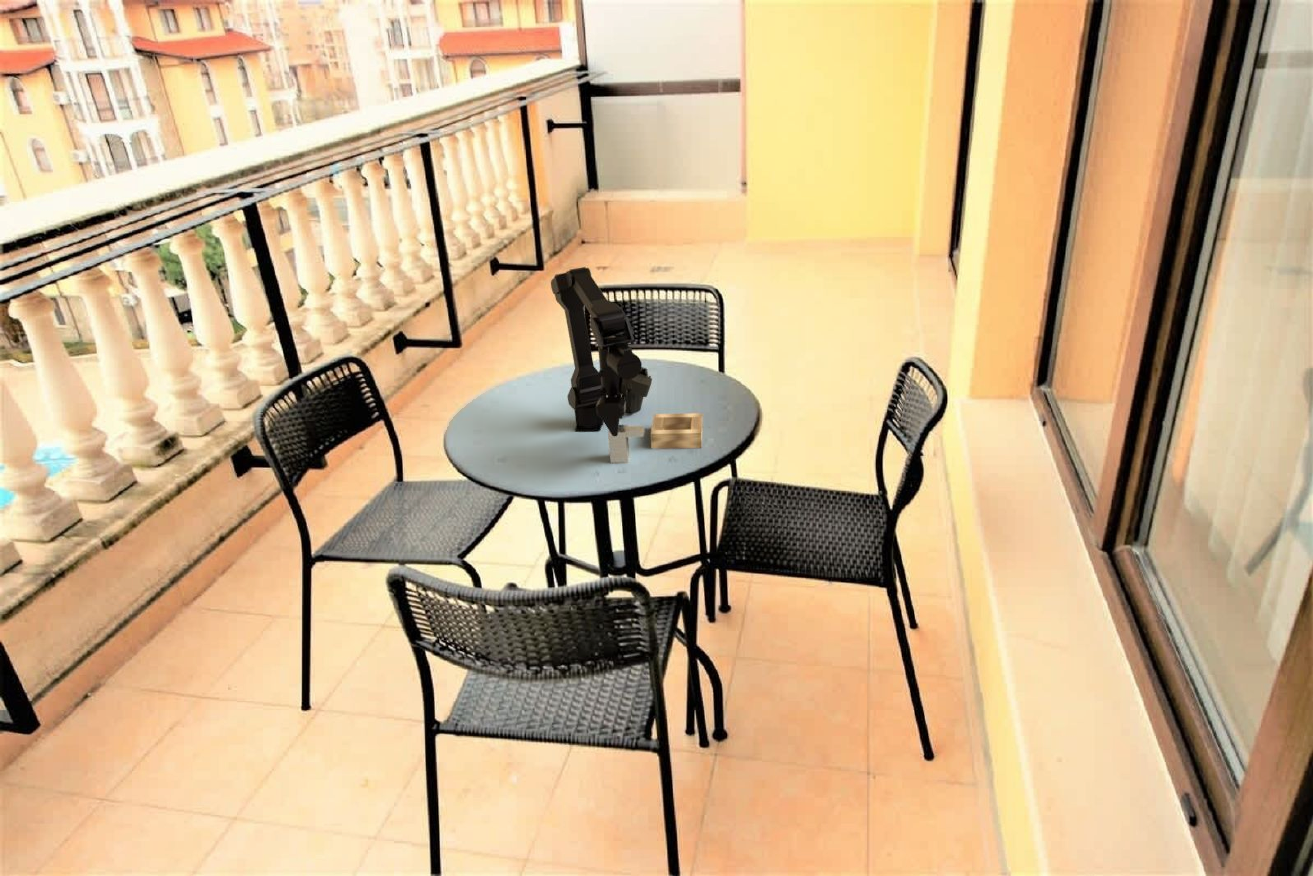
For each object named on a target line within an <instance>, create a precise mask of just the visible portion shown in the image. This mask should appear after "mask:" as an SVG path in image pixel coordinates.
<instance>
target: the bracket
mask: <svg viewBox="0 0 1313 876" xmlns="http://www.w3.org/2000/svg"><path fill="white" fill-rule="evenodd" d="M607 433H608V434H607V435H608V447H609V456H610V464H628V463H629V458H630V455H631V454H630V443H629V438H639V437H641V438H644V435H645V426H644V425H628V424H619V427H618V435H617V436H612V434H611V433H610V431H609V430H608V432H607Z"/></svg>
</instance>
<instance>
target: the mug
mask: <svg viewBox="0 0 1313 876" xmlns="http://www.w3.org/2000/svg"><path fill="white" fill-rule="evenodd" d="M625 401H626V411H625V414H636V413H638V412H639V411H641V409H642V404H643V401H644V397H642V396H640V395H638V394H635V393H631V392H629V393H628V394H627V395H626V396H625Z"/></svg>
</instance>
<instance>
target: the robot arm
mask: <svg viewBox="0 0 1313 876" xmlns="http://www.w3.org/2000/svg"><path fill="white" fill-rule="evenodd" d="M550 286H551V287H550V288H551V291H552V294H553V295H554V297H555V298H554V299H555V301H556V302H557V303H558V304H559V305H560V307H561V308H562V309H563V310H564V315H565V319H566V325H567V331H568V336H569V341H570V346H571V347H570V348H571V353H572V359H573V364H574V370H573V372H572V375H571V378H570V384H571V387H570V390H569V391H568V393H567V396H566V397H567V402H568V405H569V406H570V407H571V408H572V409H573V411H574V417H575V428H574V431H575V432H595V431H597V432H600V431H601V429H602V426H604V425H605V427H606V428H607V430H608V431H610V433H611V434H612V436H617V435H618V427H619V425H620V419H622V418H623V417H624V416H625V414H626V413H625V411H626V401H625V396H626V395H627V394H628V393H629V392H631V393H635V394H638V395H640V396H642V397H643V398H647V397H648V395H649V392H650V388H651V385H652V380H653V378H652V376H651V375H649V371H648V368H646V367H642V365H643V363H642V361H641V358H640V357H639V356H638V355H637V354H635V353H634V352H633V350H632V348H631V347H630V346H629V344H630V343H632V344H633V343H635V339H634V335H635V332H634V330H633V327H632V324H631V321H630V319H629V317H628V316H627V314H626V312H625V311H624V310H623V309H622V308H621V307H620V306H619V305H618V304H617V303H616V302H613V301H610V300H608V299H607V297H606V296H605V294H604V293H603V291H602V290H601V288H600V287H599V286H598V284H597V283H596V281H595V280H594V278H593V277H592V272H591V270H590V268H589V267H586V266H583V267H577V268H572V269H569V270H566V272H563V273H556V274H555V275H554V277H553V278H552V279H551V280H550ZM584 307H585V308H586V309H587V311H588V313H589V315H590V320H589V326H590V330H591V333H592V334H593V337H594V339H595V342H596V343H597V348H598V350H597V351H598V360H599V371H598V370H597V368H596V367H595V366H594V360H593V355H592V349H591V342H590V337H589V331H588V327H587V321H586V314H585V309H584ZM623 334H624V335H623ZM618 335H619V336H618Z"/></svg>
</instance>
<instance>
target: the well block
mask: <svg viewBox="0 0 1313 876" xmlns="http://www.w3.org/2000/svg"><path fill="white" fill-rule="evenodd" d="M703 427H704V426H703V413H702V412H701V413H700V412H698V413H696V412H695V413H655V414H653V419H652V425H651V429H650V445H651V447H650V448H651V449H652V450H653V449H654V450H655V449H656V450H657V449H702V445H703V444H702V443H703Z"/></svg>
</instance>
